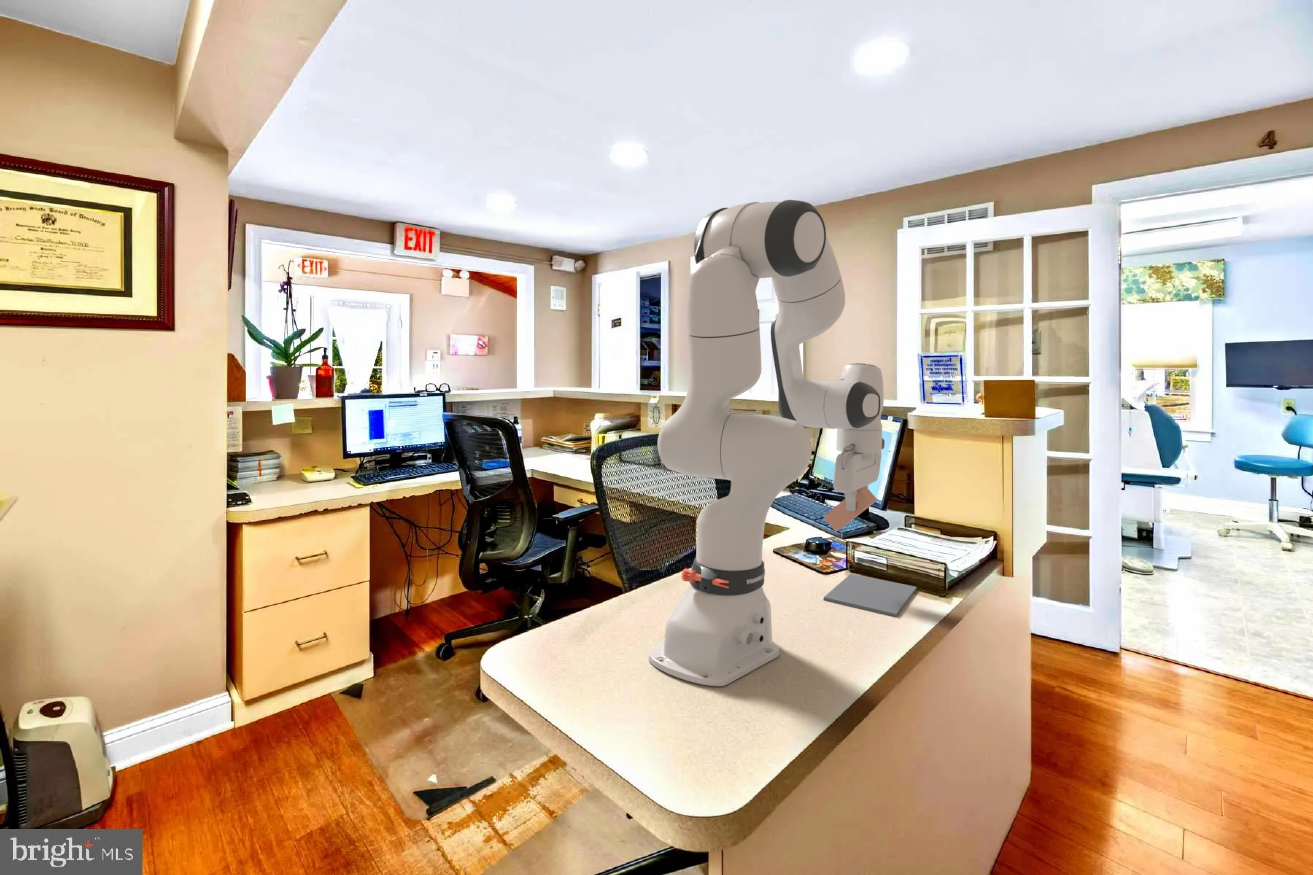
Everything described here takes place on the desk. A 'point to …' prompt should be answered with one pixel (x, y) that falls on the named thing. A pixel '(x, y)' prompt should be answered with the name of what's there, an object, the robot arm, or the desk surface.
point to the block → (842, 516)
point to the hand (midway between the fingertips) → (855, 507)
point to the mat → (871, 594)
